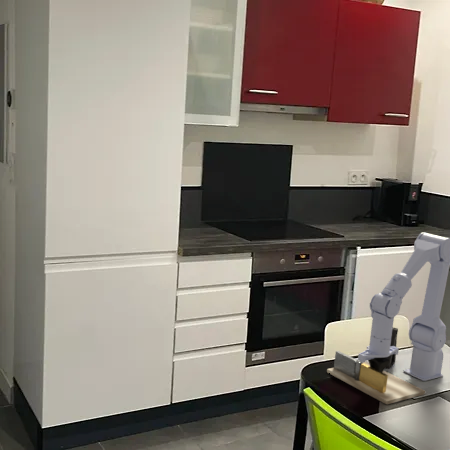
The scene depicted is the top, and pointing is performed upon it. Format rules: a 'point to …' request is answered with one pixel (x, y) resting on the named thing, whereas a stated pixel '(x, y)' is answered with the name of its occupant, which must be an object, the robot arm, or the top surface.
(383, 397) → the maple board
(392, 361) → the door stopper
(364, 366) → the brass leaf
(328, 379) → the top surface
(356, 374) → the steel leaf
